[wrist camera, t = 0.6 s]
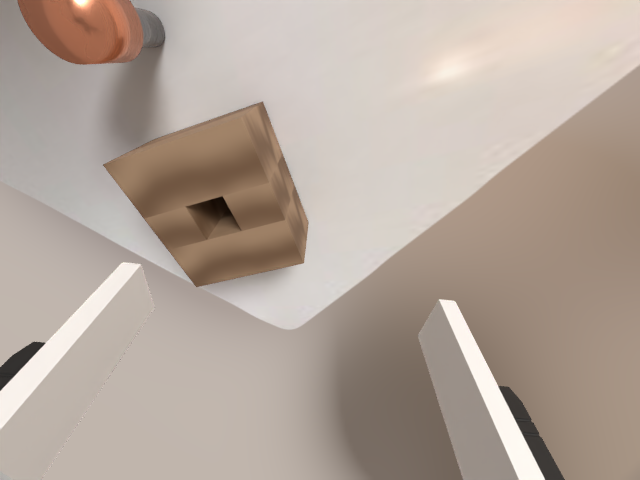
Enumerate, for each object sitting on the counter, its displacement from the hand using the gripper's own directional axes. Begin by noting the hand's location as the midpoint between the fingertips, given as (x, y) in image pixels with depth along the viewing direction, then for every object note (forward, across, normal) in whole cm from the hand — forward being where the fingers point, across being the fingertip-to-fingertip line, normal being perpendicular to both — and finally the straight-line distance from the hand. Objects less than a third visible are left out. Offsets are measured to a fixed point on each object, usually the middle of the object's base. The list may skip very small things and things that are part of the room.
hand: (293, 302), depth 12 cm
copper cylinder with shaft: (+24, -17, +9) cm, 31 cm away
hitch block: (+24, -9, -6) cm, 27 cm away
